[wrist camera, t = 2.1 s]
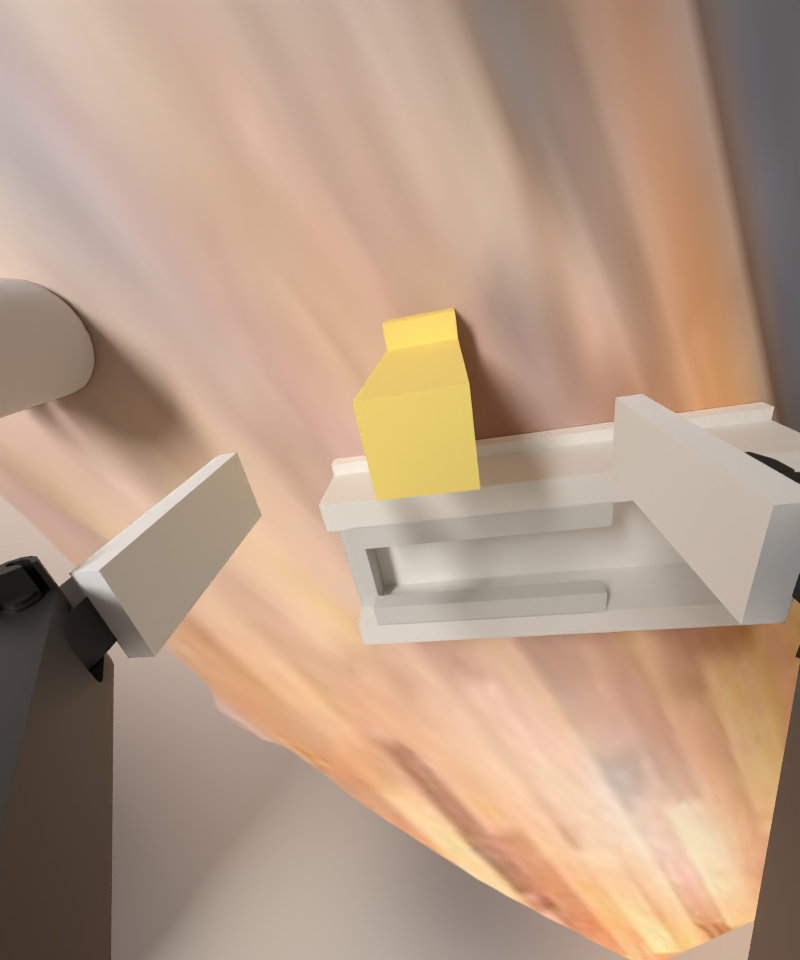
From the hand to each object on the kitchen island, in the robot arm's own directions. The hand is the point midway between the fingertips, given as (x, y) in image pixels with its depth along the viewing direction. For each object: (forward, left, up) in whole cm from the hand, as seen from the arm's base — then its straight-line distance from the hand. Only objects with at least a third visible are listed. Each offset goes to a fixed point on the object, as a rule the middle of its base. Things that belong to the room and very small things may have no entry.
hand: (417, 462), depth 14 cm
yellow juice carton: (0, 0, -13) cm, 13 cm away
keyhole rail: (+12, +6, -13) cm, 18 cm away
